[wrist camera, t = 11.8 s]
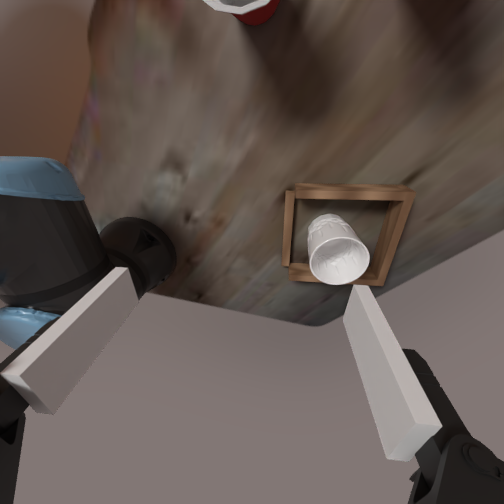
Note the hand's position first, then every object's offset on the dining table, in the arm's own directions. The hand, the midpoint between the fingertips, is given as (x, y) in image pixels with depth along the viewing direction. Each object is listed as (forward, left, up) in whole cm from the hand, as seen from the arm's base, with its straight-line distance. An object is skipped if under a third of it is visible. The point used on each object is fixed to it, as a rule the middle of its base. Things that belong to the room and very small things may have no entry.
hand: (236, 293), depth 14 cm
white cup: (+11, -8, -27) cm, 31 cm away
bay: (+12, -8, -27) cm, 31 cm away
